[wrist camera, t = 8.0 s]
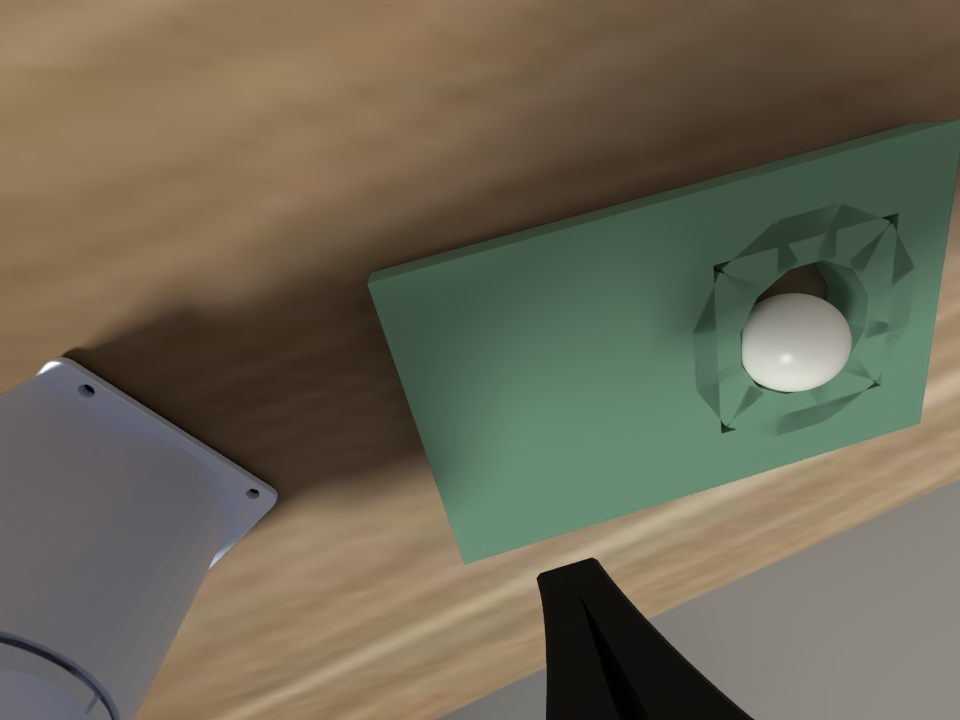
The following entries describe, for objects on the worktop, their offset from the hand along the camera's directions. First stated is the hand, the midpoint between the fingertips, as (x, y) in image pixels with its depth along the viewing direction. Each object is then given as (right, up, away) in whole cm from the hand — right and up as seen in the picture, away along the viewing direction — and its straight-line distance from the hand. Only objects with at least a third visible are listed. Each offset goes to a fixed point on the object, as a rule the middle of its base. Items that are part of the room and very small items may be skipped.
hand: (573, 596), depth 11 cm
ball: (+10, +6, +8) cm, 15 cm away
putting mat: (+6, +6, +10) cm, 13 cm away
